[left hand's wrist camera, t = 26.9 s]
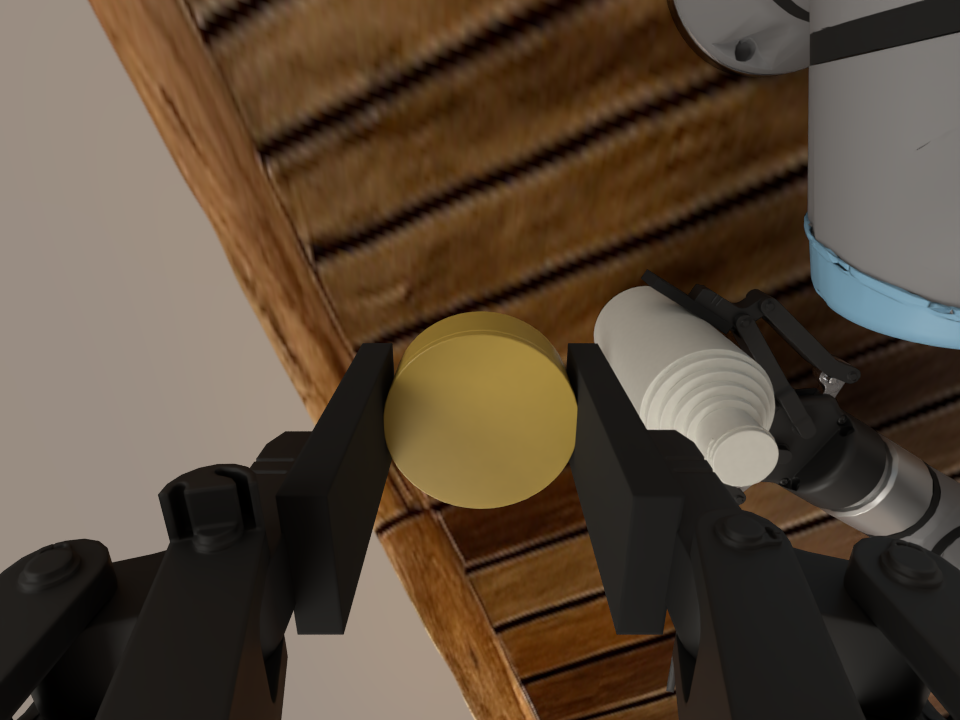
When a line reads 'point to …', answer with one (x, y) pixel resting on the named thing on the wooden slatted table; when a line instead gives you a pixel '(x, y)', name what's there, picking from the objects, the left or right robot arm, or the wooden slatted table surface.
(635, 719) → the wooden slatted table surface
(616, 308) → the bottle
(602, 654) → the wooden slatted table surface
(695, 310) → the right robot arm
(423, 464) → the cap
